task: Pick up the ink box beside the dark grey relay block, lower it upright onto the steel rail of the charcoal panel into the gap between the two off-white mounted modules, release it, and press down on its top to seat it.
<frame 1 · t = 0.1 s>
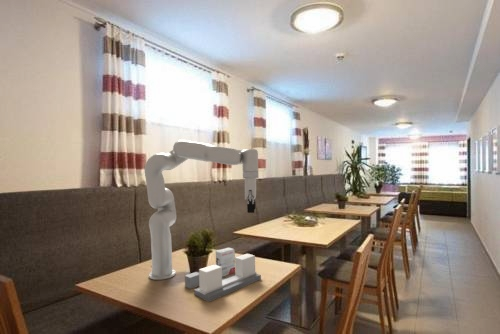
hand: (251, 210, 143), 31 cm above the table, tool pointing down, fingers open, 9 cm apart
rail panel: (229, 286, 131), on the table
ink box: (225, 274, 147), on the table
relay block: (193, 285, 133), on the table
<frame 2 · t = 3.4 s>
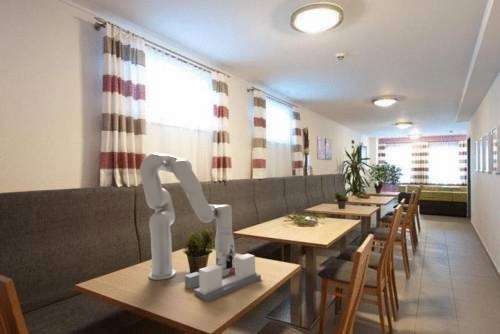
hand: (225, 266, 147), 3 cm above the table, tool pointing down, fingers closed on ink box, 5 cm apart
ink box: (225, 274, 147), on the table, touching gripper
everything else where it was.
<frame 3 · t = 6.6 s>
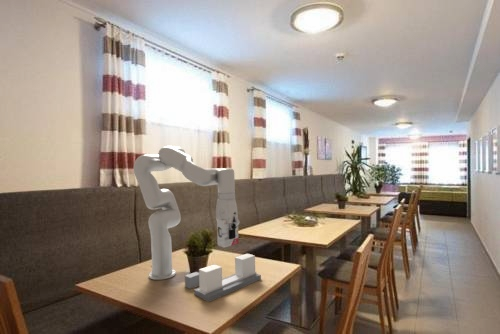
hand: (227, 237, 132), 22 cm above the table, tool pointing down, fingers closed on ink box, 5 cm apart
ink box: (228, 245, 132), point 18 cm above the table, touching gripper
everything else where it was.
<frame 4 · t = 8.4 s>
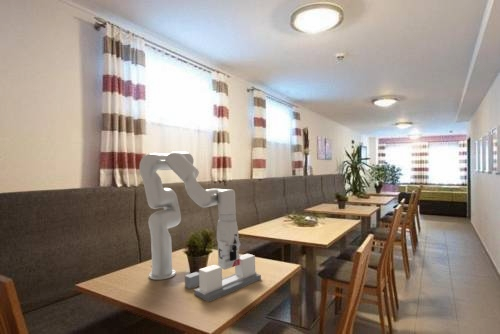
hand: (228, 258, 131), 12 cm above the table, tool pointing down, fingers closed on ink box, 5 cm apart
ink box: (229, 266, 131), point 9 cm above the table, touching gripper
everything else where it was.
when the fingers open (8 cm above the table, at t = 9.7 s): ink box drops 1 cm, resting on rail panel.
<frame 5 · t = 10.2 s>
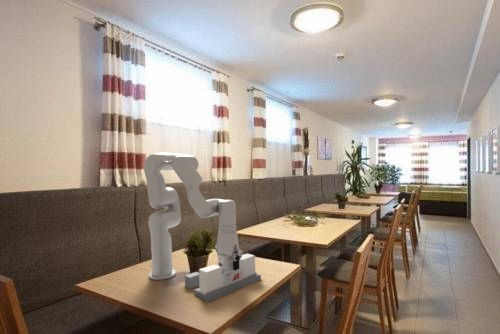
hand: (228, 267, 131), 9 cm above the table, tool pointing down, fingers open, 9 cm apart
ink box: (229, 280, 131), point 3 cm above the table, touching rail panel
everything else where it was.
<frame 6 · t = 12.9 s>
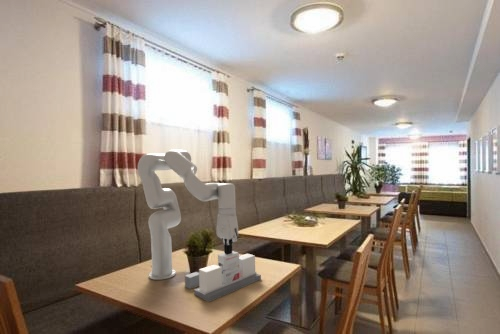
hand: (228, 253, 131), 15 cm above the table, tool pointing down, fingers closed
ink box: (229, 280, 131), point 3 cm above the table, touching gripper, rail panel
everything else where it was.
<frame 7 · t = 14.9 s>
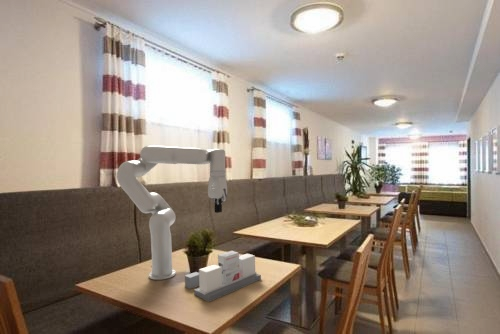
hand: (218, 212, 145), 31 cm above the table, tool pointing down, fingers closed
ink box: (229, 280, 131), point 3 cm above the table, touching rail panel
everything else where it was.
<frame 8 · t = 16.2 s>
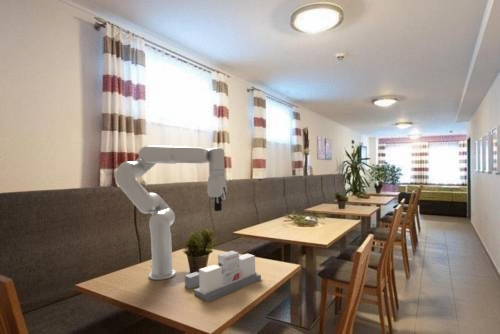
hand: (218, 210, 146), 31 cm above the table, tool pointing down, fingers closed
nothing on the table moved.
at the end: ink box 0.0 cm off-centre on the rail panel, point 2.6 cm above the rail panel's base; ink box tilted 0°; the gripper is holding nothing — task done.
